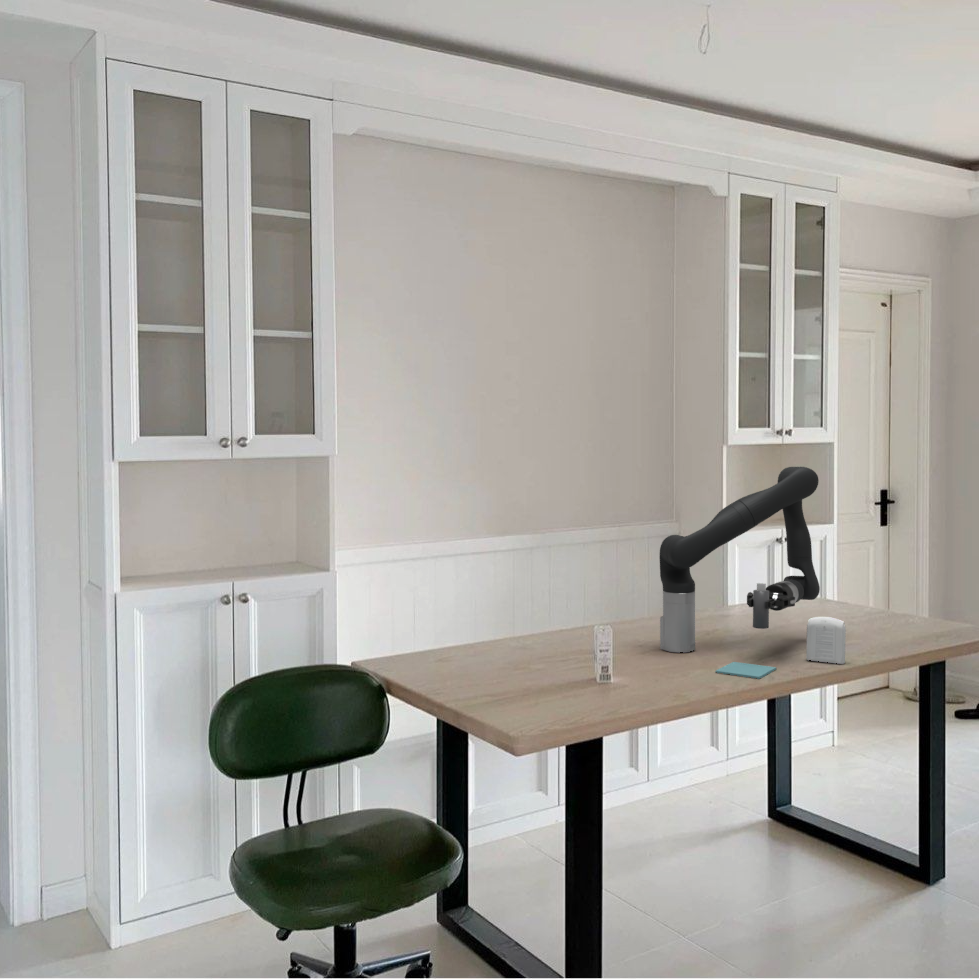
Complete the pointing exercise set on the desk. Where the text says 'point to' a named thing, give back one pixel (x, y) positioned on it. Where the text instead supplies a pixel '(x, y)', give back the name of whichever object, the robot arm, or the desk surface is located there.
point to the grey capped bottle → (760, 607)
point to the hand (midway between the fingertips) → (758, 604)
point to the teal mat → (746, 670)
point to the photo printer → (826, 640)
